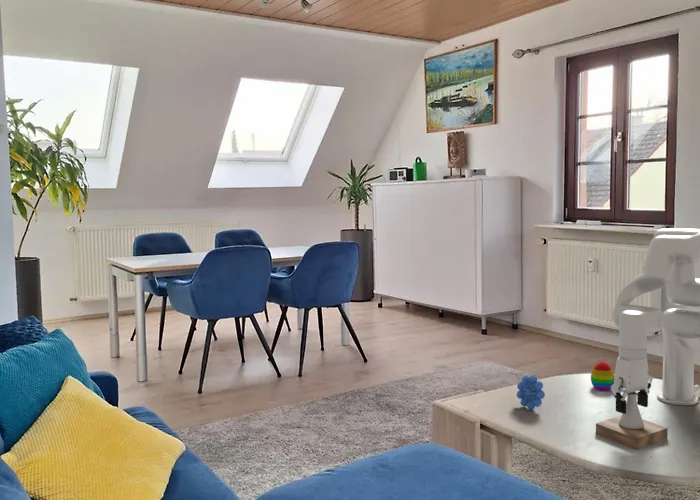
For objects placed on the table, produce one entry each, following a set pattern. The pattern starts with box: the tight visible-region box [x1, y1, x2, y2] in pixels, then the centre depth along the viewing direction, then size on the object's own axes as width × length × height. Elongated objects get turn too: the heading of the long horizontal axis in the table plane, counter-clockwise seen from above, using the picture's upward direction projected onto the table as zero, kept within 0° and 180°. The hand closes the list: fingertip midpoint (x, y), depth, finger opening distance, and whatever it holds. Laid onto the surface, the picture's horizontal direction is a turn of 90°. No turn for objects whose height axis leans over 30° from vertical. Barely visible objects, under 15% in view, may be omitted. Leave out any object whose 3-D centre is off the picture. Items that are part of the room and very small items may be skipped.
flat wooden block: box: [595, 414, 669, 451], centre depth 194 cm, size 14×14×4 cm
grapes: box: [516, 375, 546, 411], centre depth 218 cm, size 12×7×12 cm, turn 32°
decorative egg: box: [590, 361, 615, 392], centre depth 237 cm, size 8×8×10 cm
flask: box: [619, 391, 644, 429], centre depth 193 cm, size 7×7×10 cm
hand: (631, 409), depth 193 cm, fingers open, 9 cm apart
